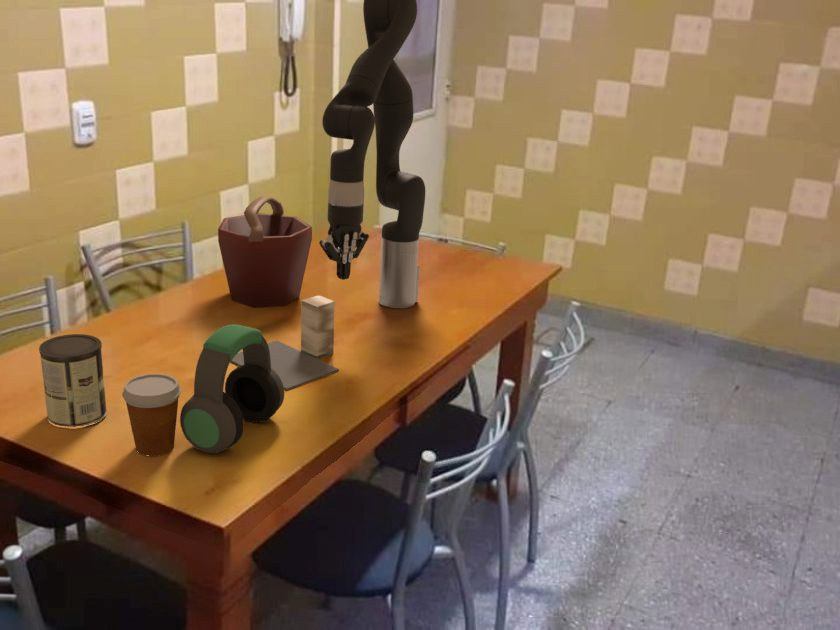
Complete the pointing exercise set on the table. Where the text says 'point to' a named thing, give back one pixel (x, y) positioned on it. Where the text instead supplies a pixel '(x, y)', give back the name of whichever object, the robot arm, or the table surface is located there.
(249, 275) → the bucket
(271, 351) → the mat
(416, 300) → the robot arm
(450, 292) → the table surface
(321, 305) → the cream block
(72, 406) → the coffee can
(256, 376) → the headphones
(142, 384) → the disposable coffee cup
